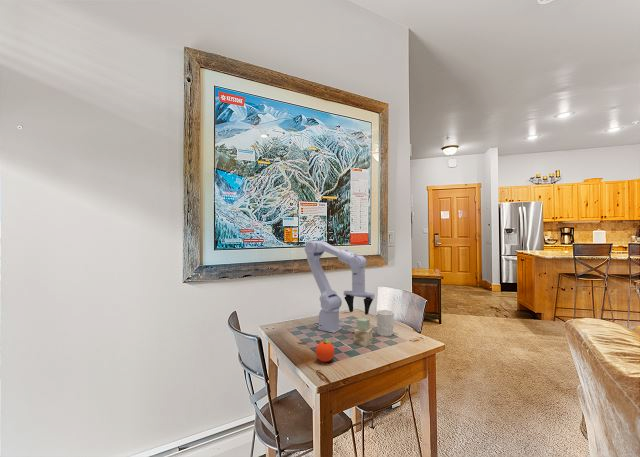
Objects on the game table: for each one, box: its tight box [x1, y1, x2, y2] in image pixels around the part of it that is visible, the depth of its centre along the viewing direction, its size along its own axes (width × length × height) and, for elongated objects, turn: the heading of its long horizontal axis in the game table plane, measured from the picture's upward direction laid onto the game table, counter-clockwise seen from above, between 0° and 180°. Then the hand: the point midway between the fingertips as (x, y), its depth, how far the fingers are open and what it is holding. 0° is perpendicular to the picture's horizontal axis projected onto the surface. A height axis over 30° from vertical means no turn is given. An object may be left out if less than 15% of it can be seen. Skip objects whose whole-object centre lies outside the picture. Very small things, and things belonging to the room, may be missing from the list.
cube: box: [356, 317, 371, 331], centre depth 125 cm, size 4×4×4 cm
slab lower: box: [352, 335, 374, 347], centre depth 125 cm, size 6×6×3 cm
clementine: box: [315, 340, 335, 363], centre depth 108 cm, size 8×7×7 cm
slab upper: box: [354, 327, 373, 340], centre depth 125 cm, size 6×6×3 cm
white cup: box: [375, 309, 395, 337], centre depth 135 cm, size 8×8×10 cm
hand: (358, 312), depth 132 cm, fingers open, 7 cm apart
